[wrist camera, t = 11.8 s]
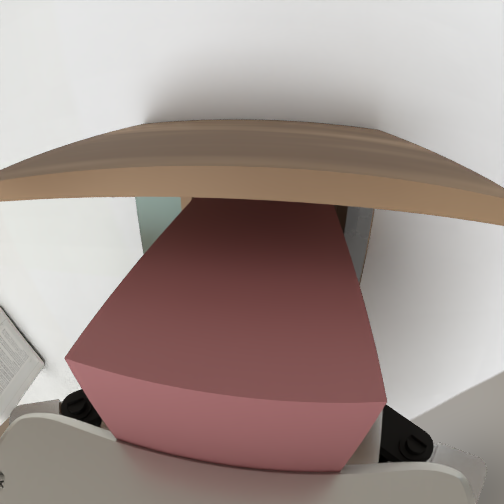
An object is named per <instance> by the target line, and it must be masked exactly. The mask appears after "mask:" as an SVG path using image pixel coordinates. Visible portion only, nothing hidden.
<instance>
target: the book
mask: <svg viewBox="0 0 504 504" xmlns="http://www.w3.org/2000/svg"><path fill="white" fill-rule="evenodd" d="M65 360H66V362H67V364H68V366H69V367H70V369H71V371H72V373H73V374H74V376H75V378H76V379H77V381H78V383H79V384H80V386H81V388H82V389H83V391H84V393H85V394H86V396H87V397H88V399H89V401H90V402H91V404H92V405H93V407H94V408H95V410H96V411H97V413H98V414H99V416H100V417H101V418H102V420H103V421H104V423H105V424H106V426H107V427H108V428H109V430H110V431H111V432H112V434H113V435H114V436H115V438H116V439H118V440H121V441H124V442H127V443H130V444H134V445H137V446H140V447H144V448H148V449H151V450H155V451H159V452H163V453H167V454H171V455H175V456H179V457H184V458H189V459H194V460H199V461H204V462H210V463H216V464H222V465H229V466H236V467H244V468H253V469H263V470H276V471H295V472H340V471H341V470H342V468H343V467H344V466H345V464H346V463H347V462H348V460H349V459H350V458H351V456H352V455H353V454H354V452H355V451H356V449H357V448H358V446H359V445H360V444H361V442H362V441H363V439H364V438H365V436H366V435H367V433H368V432H369V430H370V429H371V427H372V425H373V424H374V422H375V421H376V419H377V418H378V416H379V414H380V413H381V411H382V409H383V408H384V406H385V404H386V403H387V398H386V393H385V388H384V383H383V378H382V374H381V369H380V364H379V360H378V355H377V351H376V347H375V343H374V338H373V334H372V330H371V326H370V322H369V319H368V315H367V311H366V307H365V304H364V300H363V296H362V293H361V289H360V286H359V282H358V279H357V276H356V272H355V269H354V266H353V262H352V259H351V256H350V253H349V249H348V246H347V243H346V240H345V237H344V234H343V231H342V228H341V225H340V222H339V219H338V216H337V213H336V211H335V208H334V205H330V204H317V203H304V202H289V201H272V200H253V199H230V198H199V197H194V198H193V199H192V200H191V201H190V203H189V204H188V205H187V206H186V207H185V208H184V209H183V210H182V211H181V212H180V214H179V215H178V216H177V217H176V218H175V219H174V220H173V221H172V222H171V224H170V225H169V226H168V227H167V228H166V229H165V230H164V232H163V233H162V234H161V235H160V236H159V237H158V238H157V240H156V241H155V242H154V243H153V244H152V245H151V247H150V248H149V249H148V250H147V251H146V253H145V254H144V255H143V256H142V257H141V258H140V260H139V261H138V262H137V263H136V265H135V266H134V267H133V268H132V269H131V271H130V272H129V273H128V274H127V276H126V277H125V278H124V279H123V280H122V282H121V283H120V284H119V285H118V287H117V288H116V289H115V291H114V292H113V293H112V294H111V296H110V297H109V298H108V299H107V301H106V302H105V303H104V305H103V306H102V307H101V309H100V310H99V311H98V312H97V314H96V315H95V316H94V318H93V319H92V320H91V322H90V323H89V324H88V326H87V327H86V329H85V330H84V331H83V333H82V334H81V335H80V337H79V338H78V340H77V341H76V342H75V344H74V345H73V347H72V348H71V349H70V351H69V352H68V354H67V355H66V356H65Z"/></svg>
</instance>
